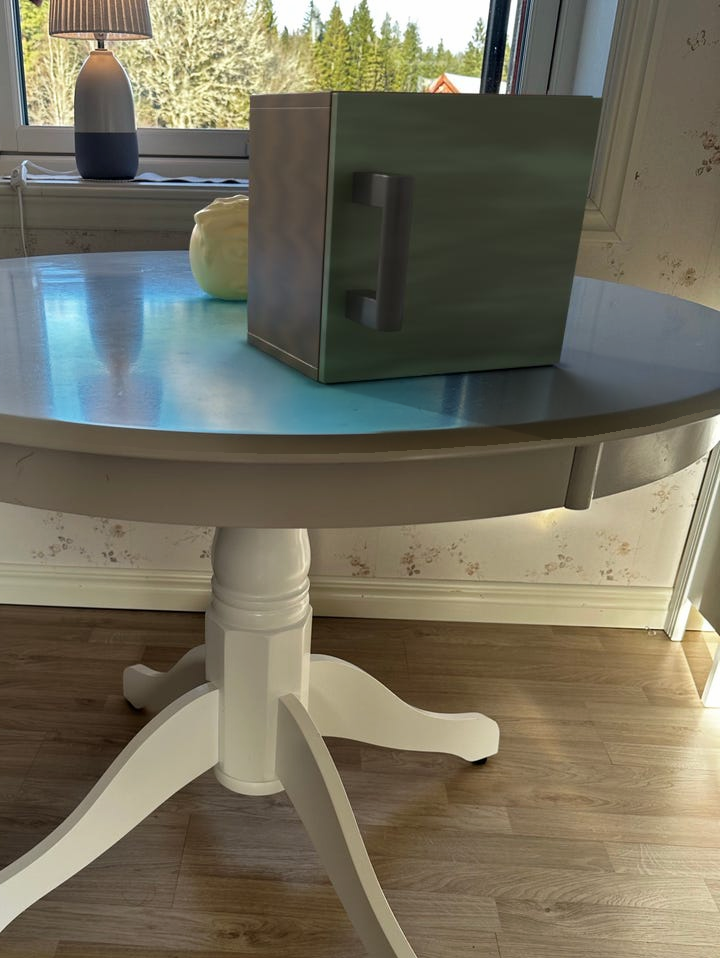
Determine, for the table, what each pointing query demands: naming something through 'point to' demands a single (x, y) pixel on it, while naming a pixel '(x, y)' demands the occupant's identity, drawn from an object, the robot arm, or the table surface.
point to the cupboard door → (451, 231)
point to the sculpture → (221, 248)
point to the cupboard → (292, 221)
